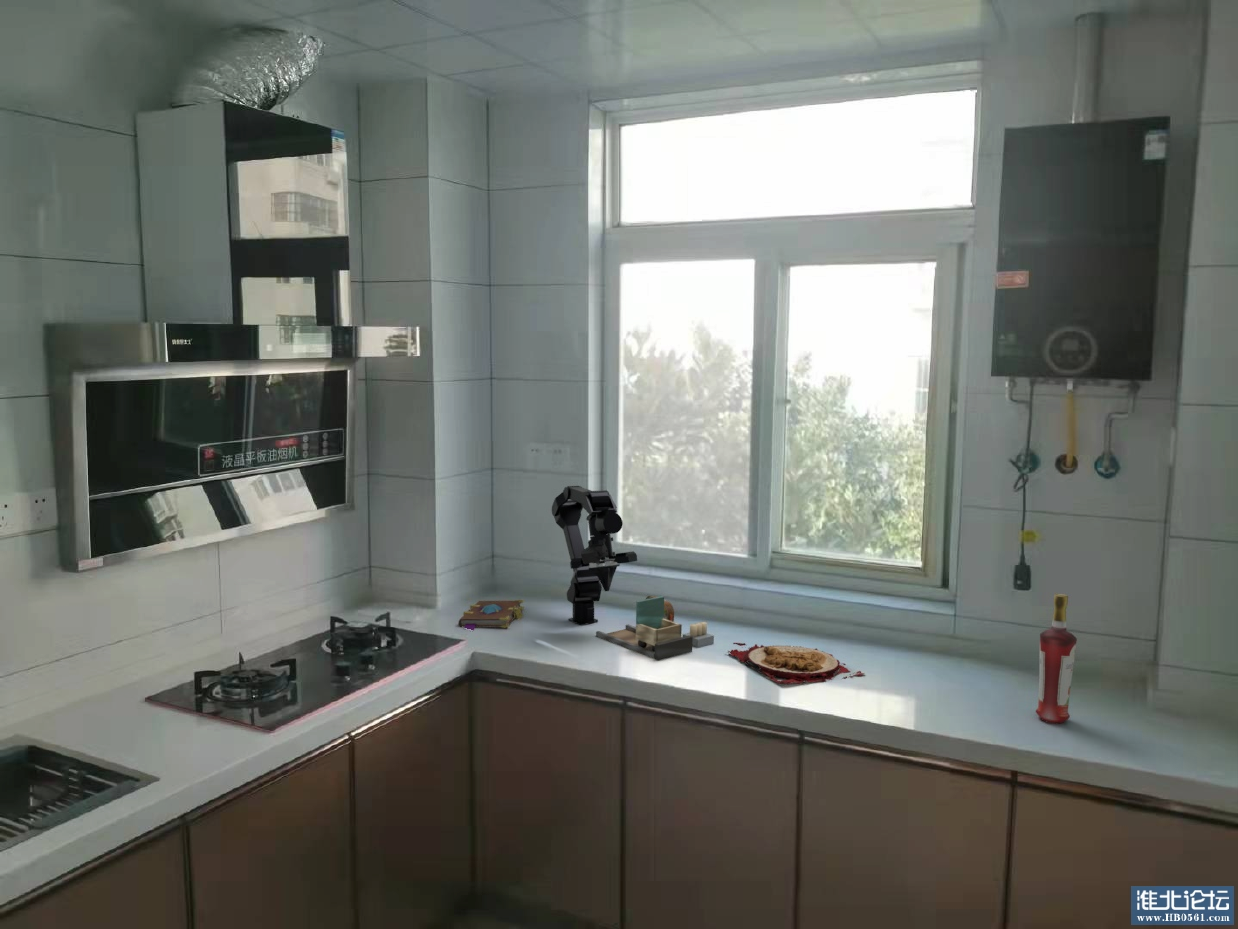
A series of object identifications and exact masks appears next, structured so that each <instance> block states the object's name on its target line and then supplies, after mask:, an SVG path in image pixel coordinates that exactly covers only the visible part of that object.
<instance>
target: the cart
mask: <svg viewBox="0 0 1238 929" xmlns="http://www.w3.org/2000/svg"><path fill="white" fill-rule="evenodd" d="M664 600H665V596H662V595H661V596H658V597H655V598H650V599H646V598H645V599H641V600H638V601H637V600H636V606H635V608H636V609H635V611H636V612H635V615H636V616H635V627H636V639H637V640H639V641H638V646H640V647H642V648H645V647H646V646H647V643H648V644H651V645H653V646H652V651H653V652H655V644H656V643H660V642H664V641H668V640H672V639H676V638H680V637H682V630H683V628H682V626H683V625H682V624H681V623H677V622H675V621H674V622H672V621H669V620H666V619H664Z"/></svg>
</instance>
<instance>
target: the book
mask: <svg viewBox="0 0 1238 929" xmlns="http://www.w3.org/2000/svg"><path fill="white" fill-rule="evenodd" d="M524 602H525V601H524V599H515V600H479V601H477V602H476V603H475V604H470V605H469V609H468V611H466V610H465V611H463V612H462V614H463V616H461V618H460V619H459V620H458V625H459V627H460V626H465V627H463V629H464V628H467V629H471V630H473V631H474V630H475V628H502V629H506V628H509V626H510V624H511V622H512V621H513V620H514V619H516V620H521V619H522V618H523V616H524V615H523V613H522V611H523V610H524V608H525V607H524V606H521V604H523V603H524Z"/></svg>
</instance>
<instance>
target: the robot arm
mask: <svg viewBox="0 0 1238 929" xmlns="http://www.w3.org/2000/svg"><path fill="white" fill-rule="evenodd" d="M583 509H584V510H585V511H586V512H587V514H588V515H587V516H586V518H585V520H586V521H588V522H587V523H588V530H589V538H590V539H589V540H587V541H588V542H587V547H586V548H585V545H584V542H583V538H582V535H581V534H582V533H581V530H580V526H579V523H580V519H581V517H582V511H583ZM617 509H618V508H617V505H616V504H615V501H614V500H613V498H612V495H611V494H610V492H609V491H608V490H607V489H606V490H605V489H604V490H602V489H601V490H591V489H589V488H584V487H582V486H581V485H567V486H566V487H564V488H563V490H562V492H561V493H559V494H558V495H557V496H556V497H555V498H554V500H553V503H552V506H551V514H552V516H553V518H554V521H555V523H556V525H558V526H559V528H561V529H562V531H563V533H564V538H565V542H566V546H567V550H568V554H569V559H570V562H569V565H570V567H569V568H570V569H572V570H573V571H572V572H573V574H572V576H571V579H570V585H569V587H568V590H567V591H566V599H567V601H568V602H569V603H571V604H572V617H569V618H568V621H569V622H572V623H575V624H577V625H580V626H583V625H587V624H592V623H597V622H599V619H597V618H595V604H594V603H595V602H600V599H601V594H602V590H603V591H604V592H609V591H610V590H611V589H610V588H611V585H612V582H613V580H614V579H613V578H614V575H615V573H616V570H617V567H620V566H621V564H628V563H633V562H637V561H638V555H637V553H636V552H635V551H634V550H633V551H625V552H618V553H616V552H615V551H613V546H612V545H613V544H612V542H614V537H612V536H611V535H612V534H617V533H619V532H620V531H621V530H622V528H623V524H624V522H623V520H622V517H621V516H620V515H619V514H618V513H617V512H618V511H617ZM602 588H603V589H602Z"/></svg>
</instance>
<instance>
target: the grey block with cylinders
mask: <svg viewBox="0 0 1238 929" xmlns="http://www.w3.org/2000/svg"><path fill="white" fill-rule="evenodd" d="M707 628H708V623H707V622H706V621H701V622H696V623H693V624H689V632H685V633H682V637H684V636H688V635H689V636H692V637H693V642H692V647H695V648H702V647H707V646H710V645H714V643H715V641H714V640H715V639H714V638H715V635H713V634H710V633H709V632H708V631H707V630H708V629H707Z"/></svg>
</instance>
